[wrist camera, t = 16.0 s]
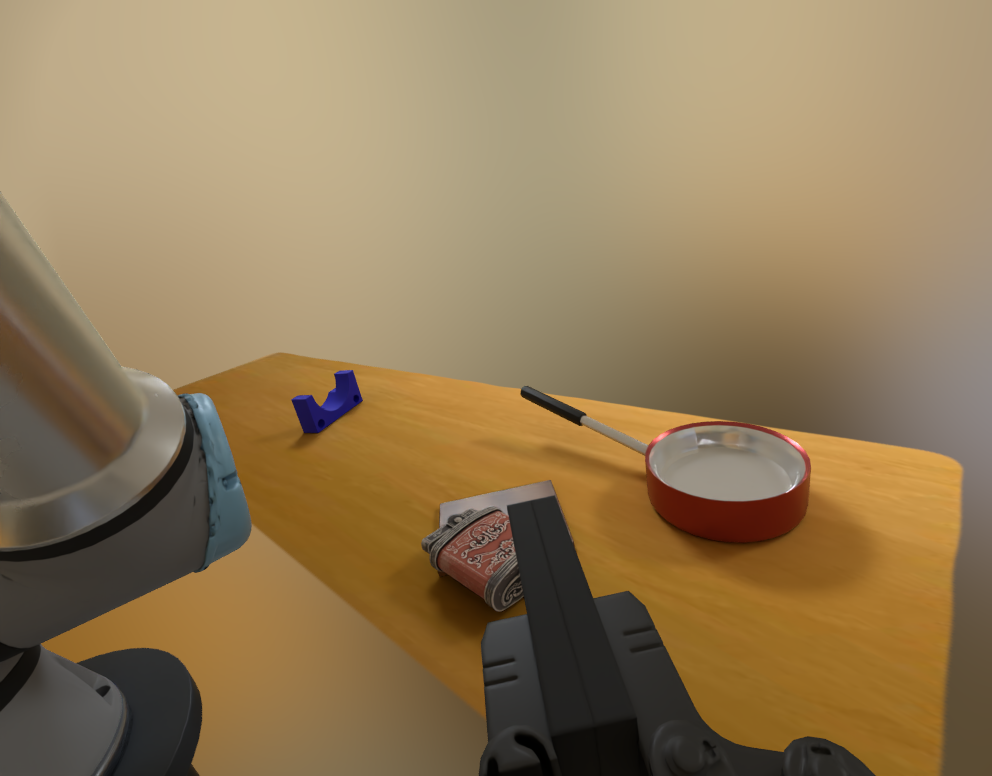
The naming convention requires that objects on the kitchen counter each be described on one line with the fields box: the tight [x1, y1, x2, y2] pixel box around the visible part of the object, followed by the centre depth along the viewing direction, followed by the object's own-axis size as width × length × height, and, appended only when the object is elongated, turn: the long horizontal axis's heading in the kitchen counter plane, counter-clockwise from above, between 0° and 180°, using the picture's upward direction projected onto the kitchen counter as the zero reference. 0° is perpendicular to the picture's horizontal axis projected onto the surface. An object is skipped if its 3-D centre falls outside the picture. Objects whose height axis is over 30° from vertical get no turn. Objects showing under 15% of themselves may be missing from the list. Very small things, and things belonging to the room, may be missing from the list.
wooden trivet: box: [438, 480, 575, 577], centre depth 45 cm, size 12×10×1 cm
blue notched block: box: [291, 370, 363, 433], centre depth 80 cm, size 12×4×6 cm, turn 158°
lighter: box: [421, 506, 524, 611], centre depth 39 cm, size 8×3×10 cm
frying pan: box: [521, 386, 811, 543], centre depth 48 cm, size 32×13×6 cm, turn 45°
